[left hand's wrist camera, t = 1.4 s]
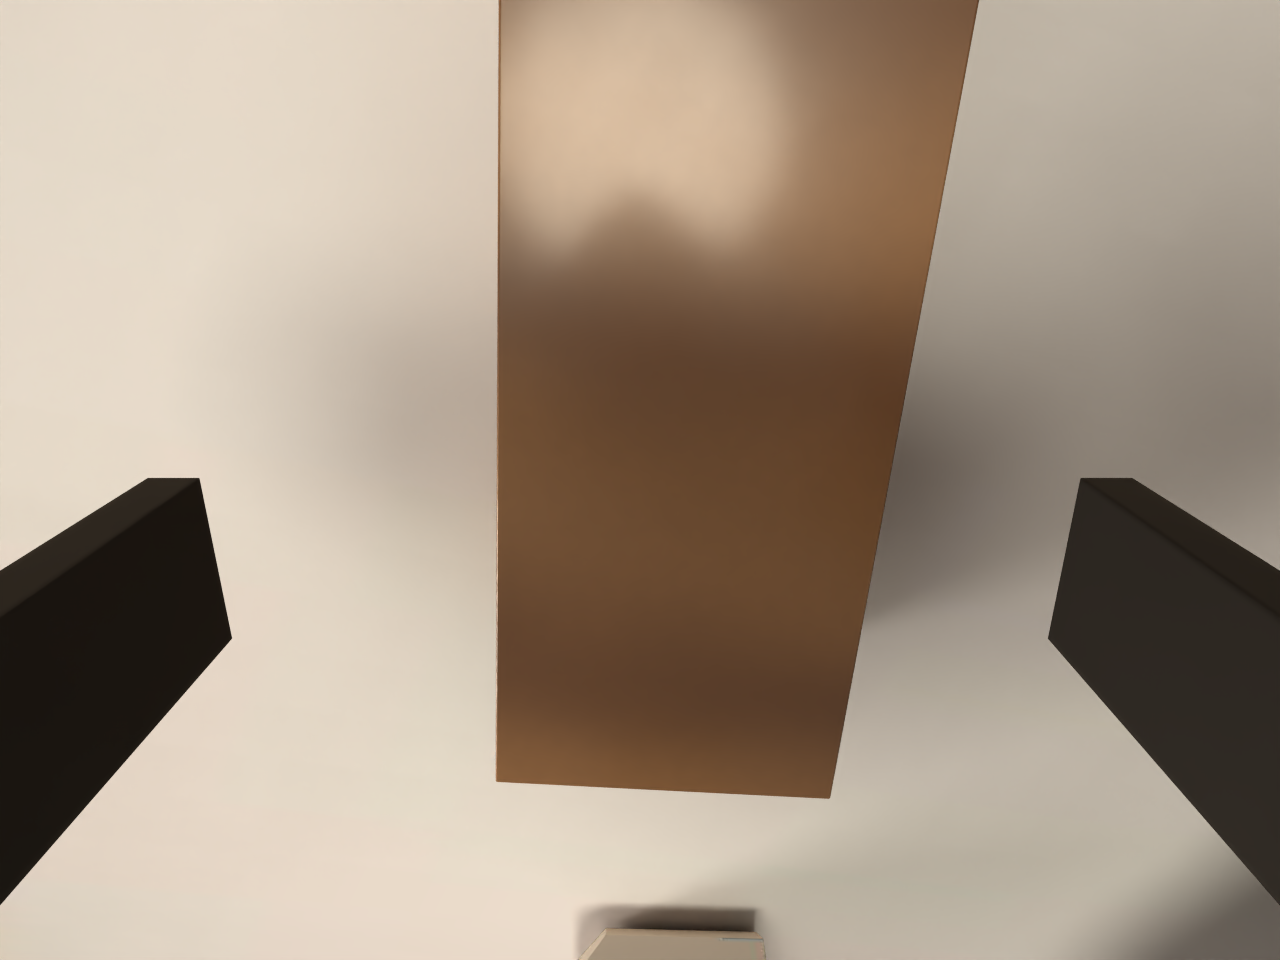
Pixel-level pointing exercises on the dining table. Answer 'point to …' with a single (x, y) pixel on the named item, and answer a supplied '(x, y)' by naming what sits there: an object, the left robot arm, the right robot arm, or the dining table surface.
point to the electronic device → (675, 945)
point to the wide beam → (703, 371)
